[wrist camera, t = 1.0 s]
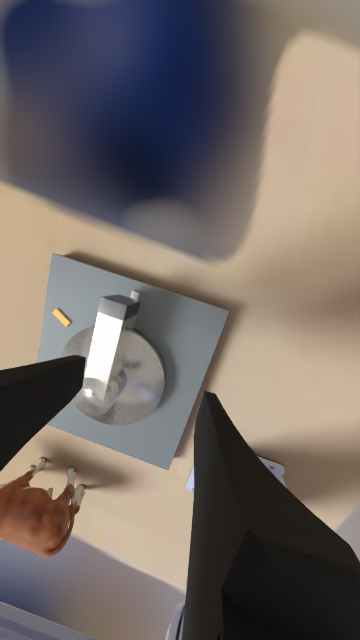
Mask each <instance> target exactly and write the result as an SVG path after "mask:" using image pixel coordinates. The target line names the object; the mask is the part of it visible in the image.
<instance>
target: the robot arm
mask: <svg viewBox="0 0 360 640" xmlns="http://www.w3.org/2000/svg"><path fill="white" fill-rule="evenodd" d="M85 363H86V357H83V356H79V355H71V356H66V357H61V358H57V359H53V360H48V361H44V362H39V363H35V364H30V365H25V366H20V367H15V368H10V369H5V370H0V471H1V470H2V469H3V468H4V467H5V466H6V465H7V464H8V462H9V461H10V460H11V459H12V458H13V457H14V456H15V455H16V454H17V453H18V452H19V451H20V449H21V448H22V447H23V446H24V445H25V444H26V443H27V442H28V441H29V440H30V439H31V438H32V437H33V436H34V435H35V434H36V433H37V432H39V431H40V430H41V429H42V428H43V427H44V426H45V425H46V424H47V423H48V422H49V421H50V420H52V419H53V418H54V417H55V416H56V415H57V414H58V413H59V412H60V411H61V410H62V409H63V408H64V407H66V406H67V405H68V404H69V403H70V402H71V401H72V399H73V398H74V397H75V396H76V395H77V394H78V392H79V391H80V390H81V389H82V387H83V379H84V371H85ZM284 472H285V469H284V467H283V466H282V465H280V464H278V463H275V462H272V461H270V460H267V459H264V458H261V457H259V456H257V455H256V454H255V453H254V452H253V450H252V449H251V448H250V447H249V445H248V444H247V443H246V441H245V440H244V439H243V437H242V436H241V435H240V433H239V432H238V430H237V429H236V427H235V426H234V424H233V423H232V421H231V420H230V418H229V416H228V415H227V413H226V411H225V410H224V408H223V406H222V404H221V403H220V401H219V399H218V397H217V396H216V394H214V393H211V392H207V391H205V392H204V395H203V399H202V402H201V405H200V409H199V412H198V415H197V418H196V423H195V433H194V468H193V470H192V472H191V475H190V477H189V480H188V482H187V489H188V490H190V491H192V492H194V504H193V517H192V531H191V543H190V555H189V567H188V578H187V581H186V600H185V602H181V603H179V605H178V606H177V607H176V610H175V611H174V614H173V617H172V620H171V623H170V626H169V628H168V632H167V635H166V639H165V640H360V562H359V560H358V558H357V556H356V555H355V553H354V551H353V549H352V548H351V546H350V545H349V544H348V543H347V542H346V541H344V540H343V539H342V538H341V537H340V536H339V535H338V534H336V533H335V532H334V531H333V530H332V529H331V528H329V527H328V526H327V525H326V524H325V523H324V522H323V521H321V520H320V519H319V518H318V517H317V516H316V515H314V514H313V513H312V512H311V511H310V510H309V509H308V508H307V507H306V506H305V505H304V504H303V503H301V502H300V501H299V500H298V499H297V498H296V497H295V496H294V495H293V494H292V493H291V492H290V491H289V490H288V489H287V486H286V484H285V482H284V479H283V477H282V476H283V474H284ZM0 640H98V639H95V638H93V637H90V636H88V635H85V634H83V633H80V632H78V631H75V630H72V629H70V628H67V627H65V626H62V625H59V624H57V623H54V622H52V621H49V620H47V619H44V618H41V617H39V616H36V615H34V614H31V613H29V612H26V611H23V610H21V609H18V608H16V607H13V606H11V605H8V604H5V603H3V602H0Z"/></svg>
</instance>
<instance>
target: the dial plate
mask: <svg viewBox="0 0 360 640" xmlns="http://www.w3.org/2000/svg"><path fill="white" fill-rule="evenodd" d="M117 294H120V295H123V296H126V297H129V298H132V299H135V300H138V301H141V303H140V307H139V310H138V314H137V315H136V319H135V323H134V327H133V328H134V329H136V330H138V331H140V332H141V333H143V334H144V335H145V336H146V337H148V338H149V339H150V340H151V341H152V343H153V344H154V345H155V346H156V348H157V349H158V351H159V352H160V355H161V357H162V359H163V362H164V365H165V371H166V382H165V387H164V391H163V394H162V396H161V399H160V401H159V403H158V405H157V407H156V408H155V409H154V411H153V412H152V413H151V414H150V415H148V416H147V417H146V418H144V419H143V420H141V421H139V422H137V423H133V424H130V425H121V426H116V425H108V424H104V423H101V422H98V421H96V420H93V419H92V418H90V417H88V416H87V415H85V414H84V413H82V412H81V411H80V410H79V409H78V408H77V407H76V406H75V405H74V404H73V403H72V402H70V403H69V404H68V405H67V406H66V407H64V408H63V409H62V410H61V411H60V412H59V413H58V414H57V415H56V416H55V417H54V418H53V419H52V420H50V421H49V422H48V423H47V425H50V426H52V427H55V428H58V429H60V430H63V431H66V432H68V433H71V434H74V435H76V436H79V437H81V438H84V439H87V440H89V441H92V442H95V443H97V444H100V445H103V446H105V447H108V448H111V449H113V450H116V451H118V452H121V453H124V454H126V455H129V456H132V457H134V458H137V459H140V460H142V461H145V462H148V463H150V464H153V465H155V466H158V467H161V468H163V469H166V470H169V467H170V465H171V462H172V460H173V457H174V454H175V452H176V449H177V447H178V444H179V442H180V439H181V436H182V434H183V431H184V429H185V426H186V423H187V421H188V418H189V416H190V413H191V410H192V408H193V405H194V403H195V400H196V397H197V395H198V392H199V390H200V387H201V384H202V382H203V379H204V377H205V374H206V372H207V369H208V366H209V364H210V361H211V359H212V356H213V353H214V351H215V348H216V346H217V343H218V340H219V338H220V335H221V333H222V330H223V327H224V325H225V322H226V320H227V317H228V314H229V312H230V311H229V310H228V309H225V308H222V307H219V306H216V305H213V304H210V303H207V302H204V301H201V300H198V299H195V298H192V297H189V296H186V295H183V294H180V293H177V292H173V291H170V290H167V289H164V288H161V287H158V286H155V285H152V284H149V283H146V282H143V281H140V280H137V279H134V278H131V277H128V276H125V275H122V274H119V273H115V272H112V271H109V270H106V269H103V268H100V267H97V266H94V265H91V264H88V263H85V262H82V261H79V260H76V259H73V258H70V257H67V256H64V255H58V254H53V253H52V259H51V266H50V274H49V281H48V288H47V296H46V303H45V310H44V318H43V325H42V333H41V340H40V347H39V355H38V362H37V363H39V362H44V361H48V360H53V359H57V358H61V354H62V352H63V349H64V347H65V346H66V344H67V343H68V341H69V340H70V339H71V338H72V337H73V336H74V335H75V334H77V333H78V332H80V331H82V330H84V329H86V328H89V327H91V326H94V325H96V321H97V316H98V312H97V311H98V306H99V302H100V297H104V296H111V295H117Z"/></svg>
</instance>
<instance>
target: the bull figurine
mask: <svg viewBox="0 0 360 640" xmlns="http://www.w3.org/2000/svg"><path fill="white" fill-rule="evenodd" d="M45 465H46V462H45V458H44V457H40V459H39V462H38V464H37V466H36V467H34V466H30V467H29V471H28V472H27V473H26V474H25V475H23V476H21V477H19V478H17V479H16V480H13V481H10V482H8V483H6V484H2V485H0V540H4V541H7V542H10V543H13V544H15V545H17V546H20V547H22V548H25V549H27V550H29V551H31V552H34V553H36V554H38V555H41V556H42V557H51V556H53V555H55V554H56V553H58V552H59V551H60V550H61V549H62V548H63V546H64V545H65V543H66V542H67V540H68V538H69V536H70V534H71V531H72V528H73V524H74V515H75V514H76V513H77V512H78V511H79V509H80V504H81V501H82V498H83V496H84V495H85V491H84V486H83V485H78V486H77V487H76V488H75V489H74V481H75V478H76V474H77V472H74V470H75V469H74V468H73V467H69V468H68V470H67V472H68V482H67V485H66V488H65V490H64V491H63V493H62V494H61V495H60V496H59V497H58V498H57V499H56V500H52V492H53V488H49V489H48V490H47V491H46V490H45V489H42V488H34V487H30V485H29V481H30V480H31V479H32V478H33V477H34V475H35V474H36V473H37V472H38V471H39V470H40V469H42V468H44V466H45ZM70 499H71V505H69V502H70ZM69 521H70V525H69ZM68 525H69V529H68Z"/></svg>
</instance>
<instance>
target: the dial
mask: <svg viewBox="0 0 360 640" xmlns="http://www.w3.org/2000/svg"><path fill="white" fill-rule="evenodd" d="M140 303H141V301H138V300H135V299H132V298H129V297H126V296H123V295H120V294H117V295H111V296H104V297H100V302H99V306H98V311H97V312H98V316H97V321H96V325H94V326H91V327H89V328H86V329H84V330H82V331H80V332H78V333H77V334H75V335H74V336H73V337H72V338H71V339H70V340H69V341H68V343H67V344H66V346H65V347H64V349H63V352H62V354H61V357H66V356H71V355H79V356H83V357H86V363H85V371H84V379H83V387H82V389H81V390H80V391H79V392H78V394H77V395H76V396H75V397H74V398H73V399H72V401H71V402H72V403H73V404H74V405H75V406H76V407H77V408H78V409H79V410H80V411H81V412H82V413H84V414H85V415H87V416H88V417H90V418H92V419H93V420H96V421H98V422H101V423H104V424H108V425H116V426H121V425H130V424H133V423H137V422H139V421H141V420H143V419H144V418H146V417H147V416H148V415H150V414H151V413H152V412H153V411H154V409H155V408H156V407H157V405H158V403H159V401H160V399H161V396H162V394H163V391H164V387H165V382H166V371H165V365H164V362H163V359H162V357H161V355H160V352H159V351H158V349H157V348H156V346H155V345H154V344H153V343H152V341H151V340H150V339H149V338H148V337H146V336H145V335H144V334H143V333H141V332H140V331H138V330H136V329H134V328H133V327H134V323H135V319H136V315H137V314H138V310H139V307H140Z"/></svg>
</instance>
